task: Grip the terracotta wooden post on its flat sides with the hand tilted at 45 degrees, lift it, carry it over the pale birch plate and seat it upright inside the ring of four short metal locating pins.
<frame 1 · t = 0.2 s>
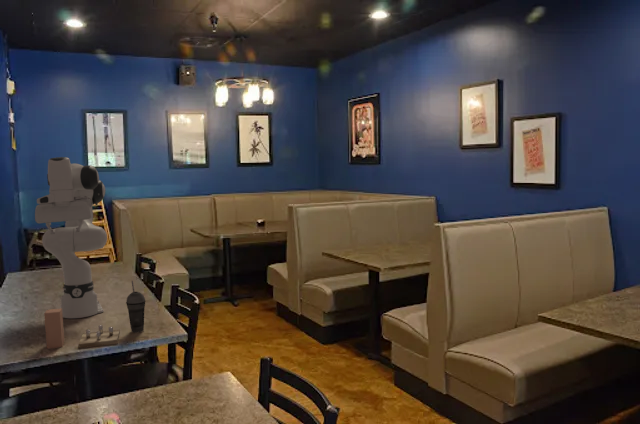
hand: (65, 233, 207), 39 cm above the table, tool pointing down, fingers open, 8 cm apart
beverage cup: (137, 331, 207), on the table
terracotta post: (55, 345, 192), on the table
pin plate: (100, 340, 196), on the table
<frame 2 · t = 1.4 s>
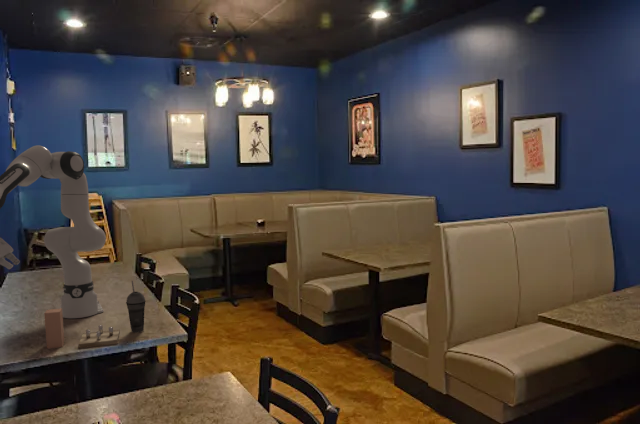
hand: (15, 265, 190), 30 cm above the table, tool tilted 45°, fingers open, 8 cm apart
nothing on the table moved.
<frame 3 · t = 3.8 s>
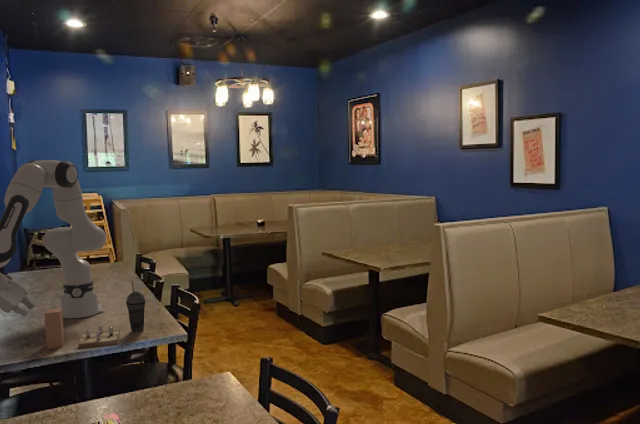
hand: (29, 311, 188), 14 cm above the table, tool tilted 45°, fingers open, 8 cm apart
nothing on the table moved.
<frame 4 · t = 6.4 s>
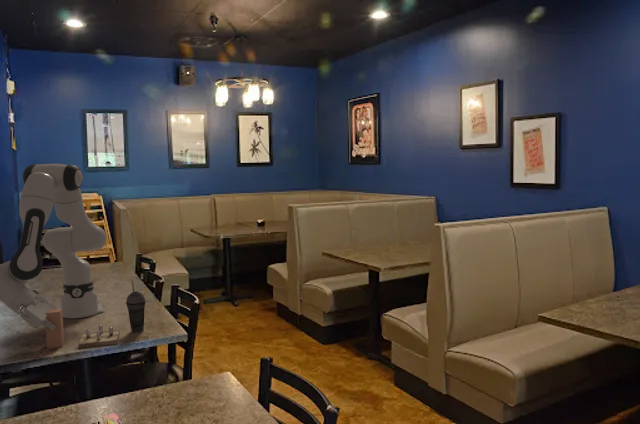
hand: (56, 325, 191), 7 cm above the table, tool tilted 45°, fingers closed on terracotta post, 5 cm apart
terracotta post: (55, 345, 192), on the table, touching gripper
everything else where it was.
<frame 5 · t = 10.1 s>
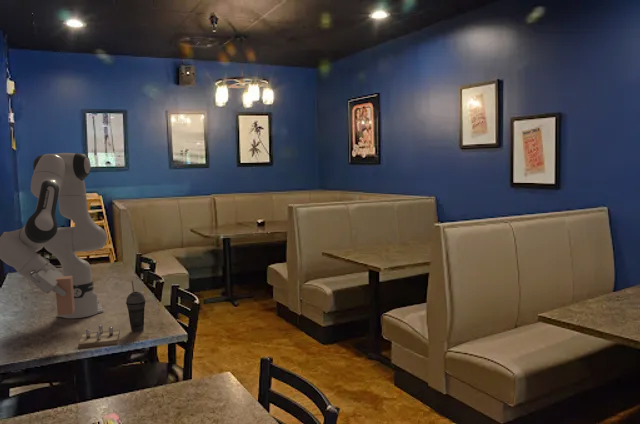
hand: (66, 292, 191), 19 cm above the table, tool tilted 45°, fingers closed on terracotta post, 5 cm apart
terracotta post: (66, 312, 192), point 12 cm above the table, touching gripper
everything else where it was.
when the fingers open (10 cm above the table, at t = 13.9 s): terracotta post drops 1 cm, resting on pin plate.
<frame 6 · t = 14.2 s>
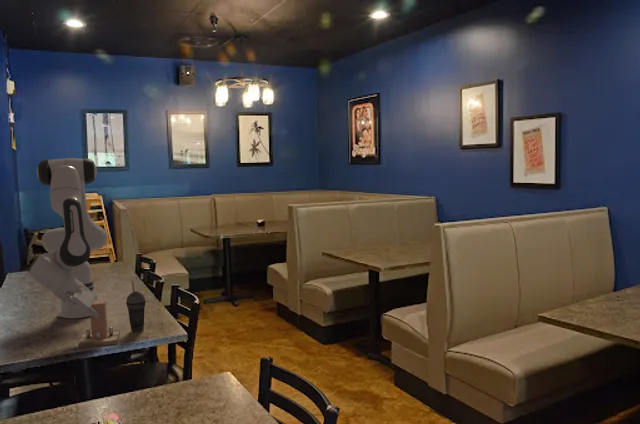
hand: (100, 313, 195), 10 cm above the table, tool tilted 45°, fingers open, 8 cm apart
terracotta post: (100, 336, 196), point 1 cm above the table, touching pin plate
everything else where it was.
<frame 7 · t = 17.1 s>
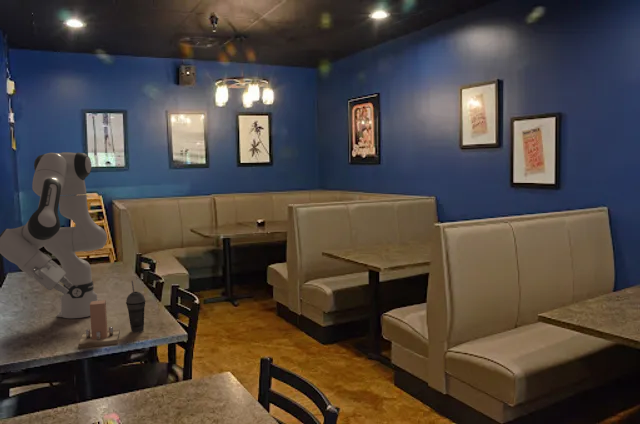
hand: (69, 289, 191), 20 cm above the table, tool tilted 45°, fingers open, 8 cm apart
nothing on the table moved.
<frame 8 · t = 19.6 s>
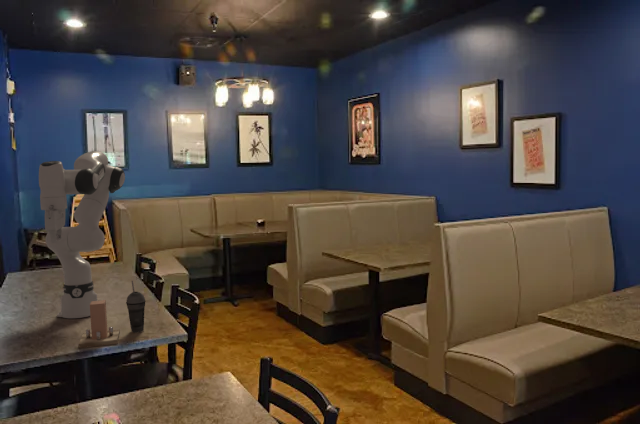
hand: (56, 241, 198), 37 cm above the table, tool pointing down, fingers open, 8 cm apart
nothing on the table moved.
at the end: terracotta post 0.1 cm off-centre on the pin plate, point 1.5 cm above the pin plate's base; terracotta post tilted 0°; the gripper is holding nothing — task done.
